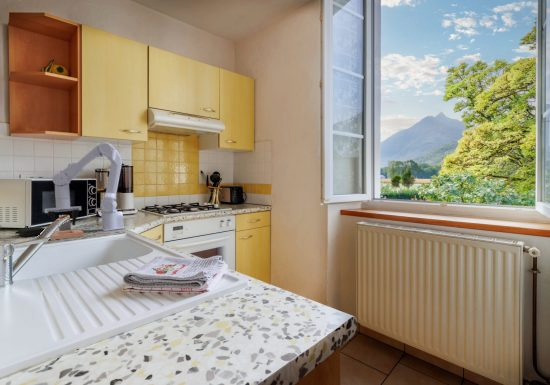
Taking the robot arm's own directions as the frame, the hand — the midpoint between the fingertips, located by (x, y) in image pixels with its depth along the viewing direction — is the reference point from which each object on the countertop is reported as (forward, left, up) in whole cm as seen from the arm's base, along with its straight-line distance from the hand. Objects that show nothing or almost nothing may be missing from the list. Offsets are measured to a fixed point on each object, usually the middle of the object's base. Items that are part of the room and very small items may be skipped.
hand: (64, 226), depth 145 cm
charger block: (0, 0, -4) cm, 4 cm away
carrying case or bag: (+11, -1, -2) cm, 11 cm away
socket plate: (+2, +12, -4) cm, 13 cm away
